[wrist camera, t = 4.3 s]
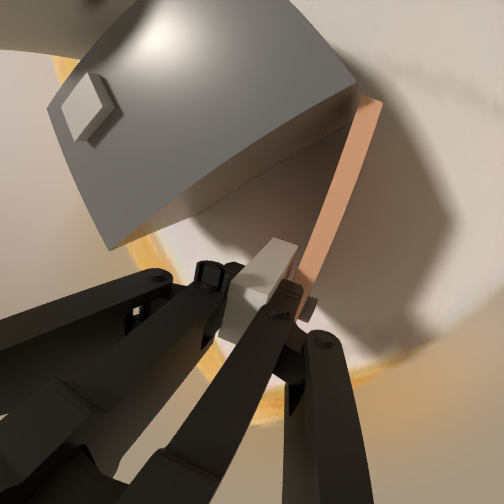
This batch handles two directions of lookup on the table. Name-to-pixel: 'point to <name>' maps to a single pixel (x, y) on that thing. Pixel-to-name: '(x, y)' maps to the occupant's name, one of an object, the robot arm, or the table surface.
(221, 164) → the dark gray knobbed box
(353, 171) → the side door
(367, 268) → the table surface
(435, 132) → the table surface
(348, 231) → the table surface
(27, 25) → the container
